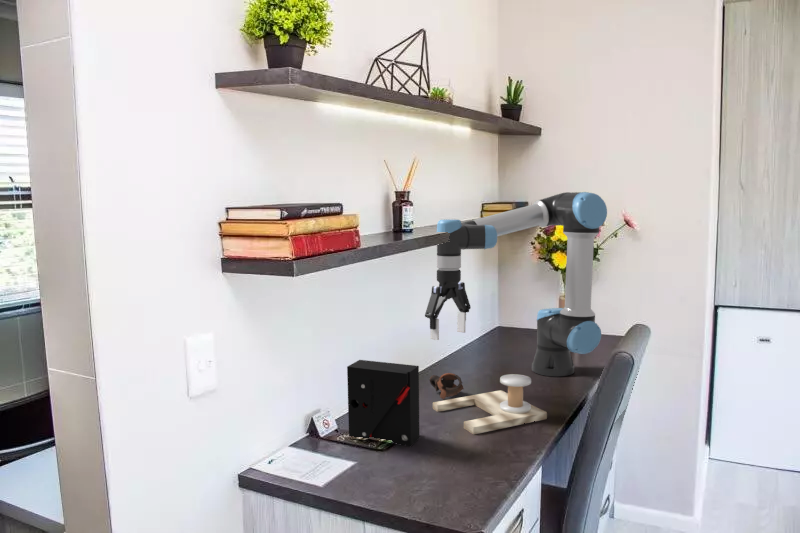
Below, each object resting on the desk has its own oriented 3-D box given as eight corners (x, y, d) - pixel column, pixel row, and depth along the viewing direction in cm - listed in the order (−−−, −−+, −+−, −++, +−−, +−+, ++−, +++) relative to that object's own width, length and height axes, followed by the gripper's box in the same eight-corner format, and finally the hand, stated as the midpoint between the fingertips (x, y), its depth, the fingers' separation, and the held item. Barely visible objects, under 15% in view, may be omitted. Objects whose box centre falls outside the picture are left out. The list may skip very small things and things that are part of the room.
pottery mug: (466, 393, 208) (468, 376, 203) (455, 413, 202) (456, 396, 197) (434, 380, 213) (435, 363, 208) (421, 399, 206) (422, 382, 201)
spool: (518, 401, 192) (518, 372, 191) (537, 410, 184) (537, 380, 183) (493, 406, 188) (494, 376, 187) (511, 415, 180) (512, 385, 179)
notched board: (500, 396, 203) (500, 390, 203) (546, 418, 182) (546, 412, 182) (432, 408, 192) (432, 402, 192) (473, 434, 172) (473, 427, 171)
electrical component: (422, 435, 172) (421, 363, 169) (408, 449, 162) (407, 374, 160) (364, 426, 179) (363, 357, 176) (347, 439, 169) (345, 367, 167)
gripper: (463, 264, 208) (462, 327, 211) (413, 271, 190) (413, 340, 193) (481, 266, 203) (481, 330, 206) (432, 273, 185) (432, 344, 188)
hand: (448, 335), depth 199 cm, fingers open, 13 cm apart
